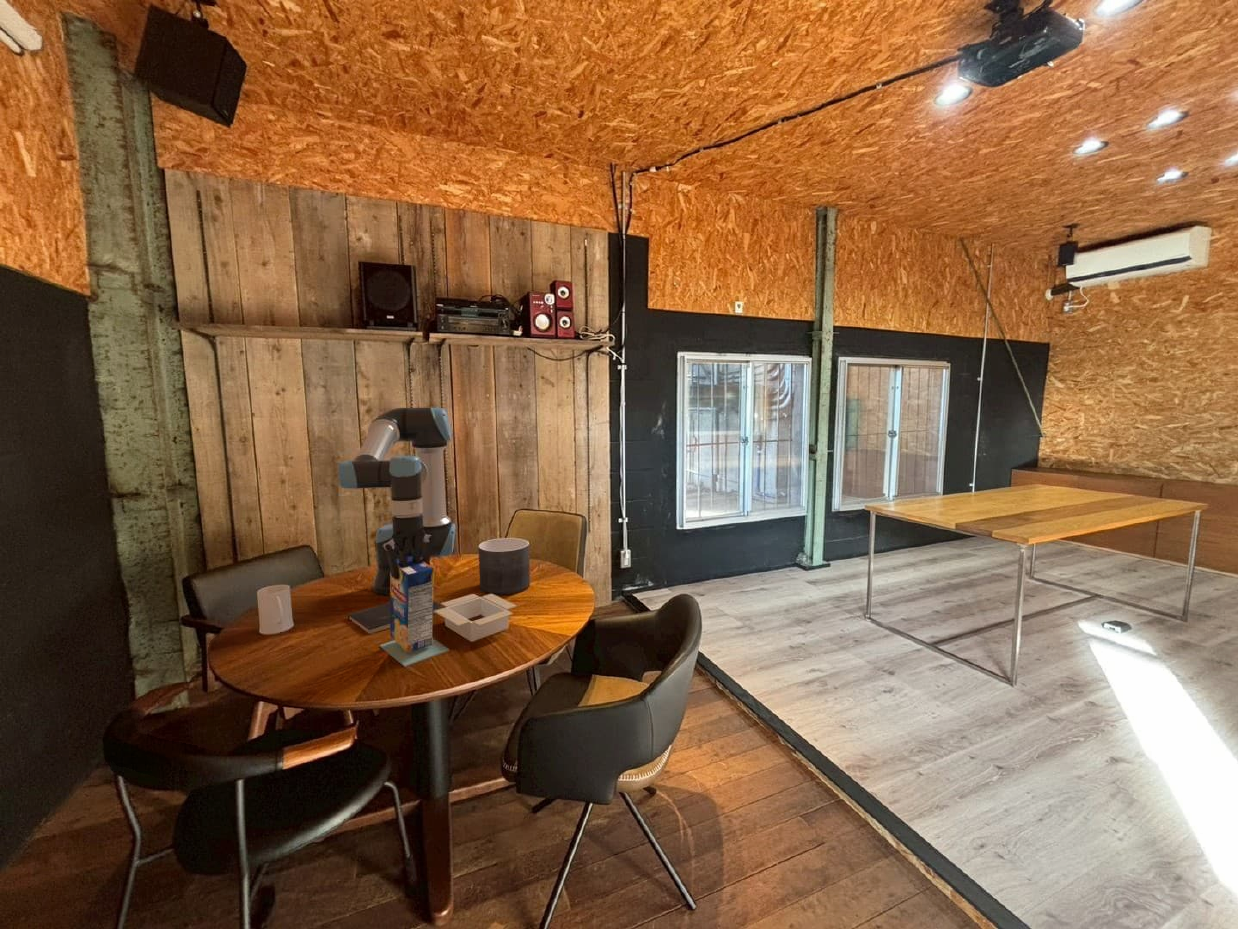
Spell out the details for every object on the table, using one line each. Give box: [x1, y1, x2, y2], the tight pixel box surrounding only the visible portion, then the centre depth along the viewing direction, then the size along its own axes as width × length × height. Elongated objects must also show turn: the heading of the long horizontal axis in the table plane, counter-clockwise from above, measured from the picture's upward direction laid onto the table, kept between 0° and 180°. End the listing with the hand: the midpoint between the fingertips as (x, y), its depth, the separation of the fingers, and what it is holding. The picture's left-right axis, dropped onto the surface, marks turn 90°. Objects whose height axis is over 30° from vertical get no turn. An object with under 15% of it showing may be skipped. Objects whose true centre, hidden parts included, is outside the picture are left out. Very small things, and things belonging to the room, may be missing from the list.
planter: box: [478, 537, 531, 596], centre depth 186 cm, size 18×18×16 cm
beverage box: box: [389, 556, 435, 653], centre depth 138 cm, size 7×11×22 cm, turn 46°
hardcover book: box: [347, 600, 444, 635], centre depth 162 cm, size 16×23×2 cm
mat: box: [379, 638, 450, 668], centre depth 140 cm, size 16×12×1 cm
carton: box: [434, 593, 518, 643], centre depth 153 cm, size 22×19×6 cm
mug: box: [256, 584, 295, 635], centre depth 150 cm, size 12×8×12 cm
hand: (411, 600), depth 138 cm, fingers closed on beverage box, 2 cm apart
